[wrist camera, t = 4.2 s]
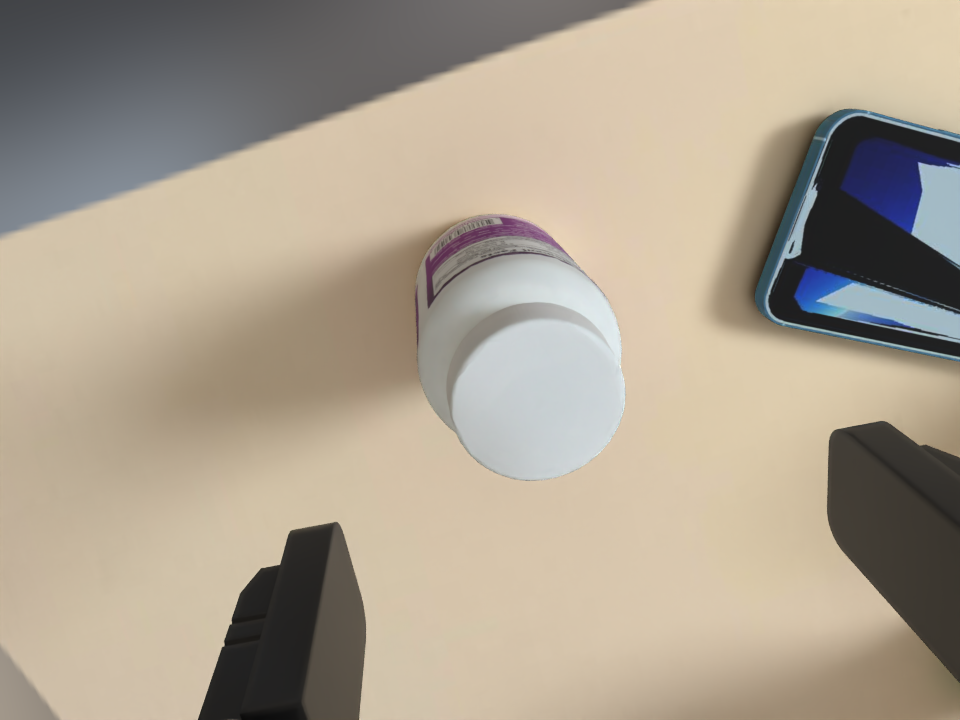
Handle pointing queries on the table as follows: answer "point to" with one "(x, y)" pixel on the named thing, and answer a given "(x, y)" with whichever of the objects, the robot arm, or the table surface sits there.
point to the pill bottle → (517, 348)
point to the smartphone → (871, 237)
